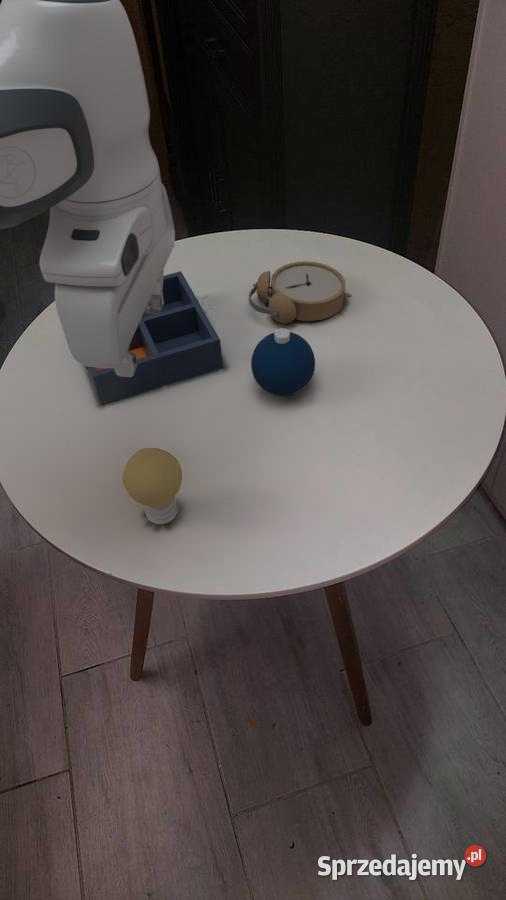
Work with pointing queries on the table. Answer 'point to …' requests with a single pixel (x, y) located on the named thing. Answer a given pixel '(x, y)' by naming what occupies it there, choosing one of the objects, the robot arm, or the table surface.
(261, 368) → the christmas ornament
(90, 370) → the navy compartment tray
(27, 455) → the table surface
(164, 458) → the light bulb
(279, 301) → the alarm clock
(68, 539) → the table surface
